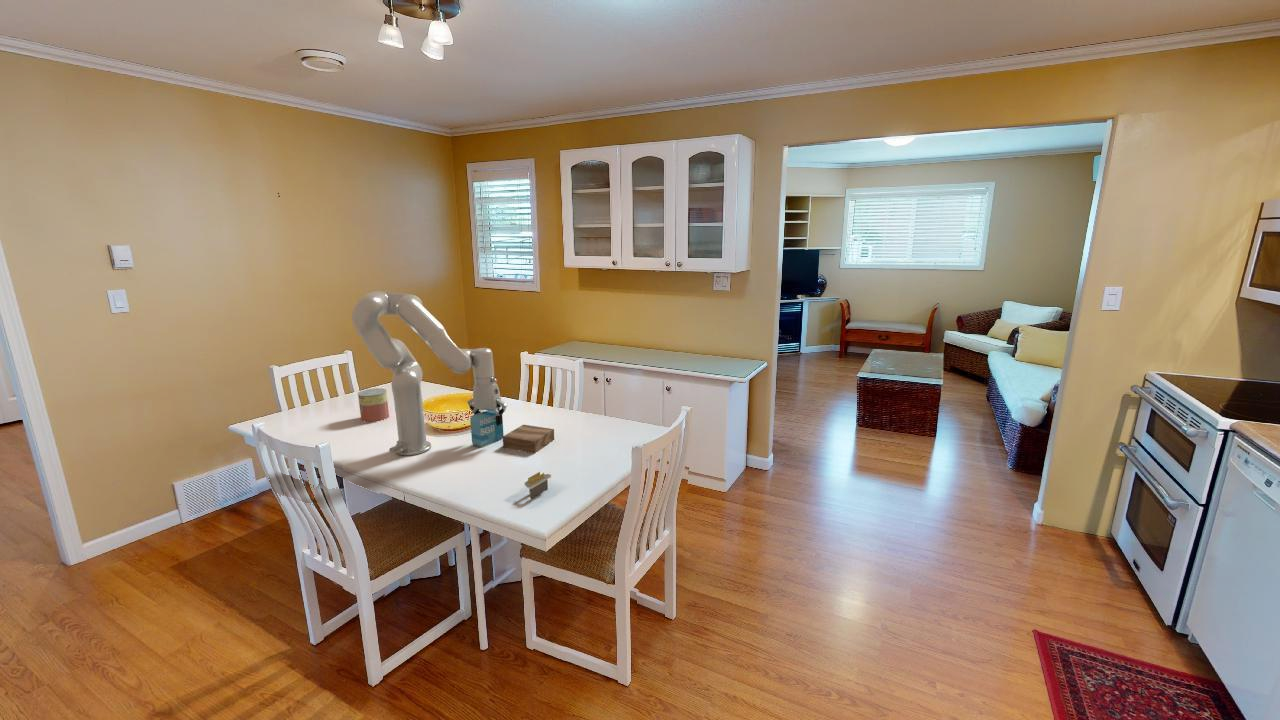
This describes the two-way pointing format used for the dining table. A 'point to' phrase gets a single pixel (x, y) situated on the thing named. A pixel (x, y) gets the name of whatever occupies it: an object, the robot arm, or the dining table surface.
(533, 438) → the walnut base block
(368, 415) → the canned food
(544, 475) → the platform
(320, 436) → the dining table surface
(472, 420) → the blue flat box
